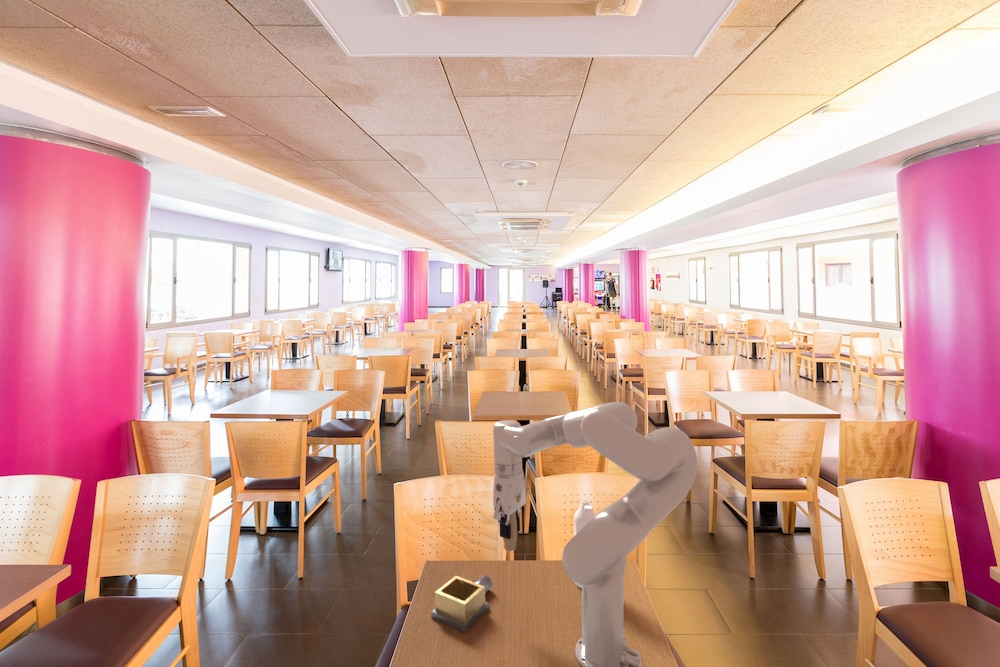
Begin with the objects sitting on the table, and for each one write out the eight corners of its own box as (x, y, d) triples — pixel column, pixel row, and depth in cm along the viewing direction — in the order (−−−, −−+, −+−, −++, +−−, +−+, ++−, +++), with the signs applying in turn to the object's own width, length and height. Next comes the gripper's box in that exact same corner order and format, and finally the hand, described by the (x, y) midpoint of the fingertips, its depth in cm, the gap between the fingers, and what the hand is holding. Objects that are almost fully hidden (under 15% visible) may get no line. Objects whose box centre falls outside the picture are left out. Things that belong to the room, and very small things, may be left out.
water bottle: (572, 577, 143) (571, 496, 141) (593, 576, 143) (593, 495, 141) (578, 595, 134) (578, 509, 132) (600, 594, 134) (600, 508, 133)
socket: (502, 594, 135) (502, 572, 134) (464, 632, 120) (464, 607, 119) (471, 582, 141) (471, 561, 140) (431, 617, 126) (431, 593, 125)
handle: (521, 554, 125) (519, 498, 124) (497, 552, 126) (495, 497, 125) (523, 544, 130) (521, 491, 129) (500, 543, 131) (498, 490, 130)
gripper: (503, 479, 118) (505, 551, 119) (535, 460, 132) (537, 524, 133) (478, 474, 122) (480, 543, 123) (512, 456, 136) (514, 518, 137)
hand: (510, 533), depth 128 cm, fingers closed on handle, 4 cm apart
